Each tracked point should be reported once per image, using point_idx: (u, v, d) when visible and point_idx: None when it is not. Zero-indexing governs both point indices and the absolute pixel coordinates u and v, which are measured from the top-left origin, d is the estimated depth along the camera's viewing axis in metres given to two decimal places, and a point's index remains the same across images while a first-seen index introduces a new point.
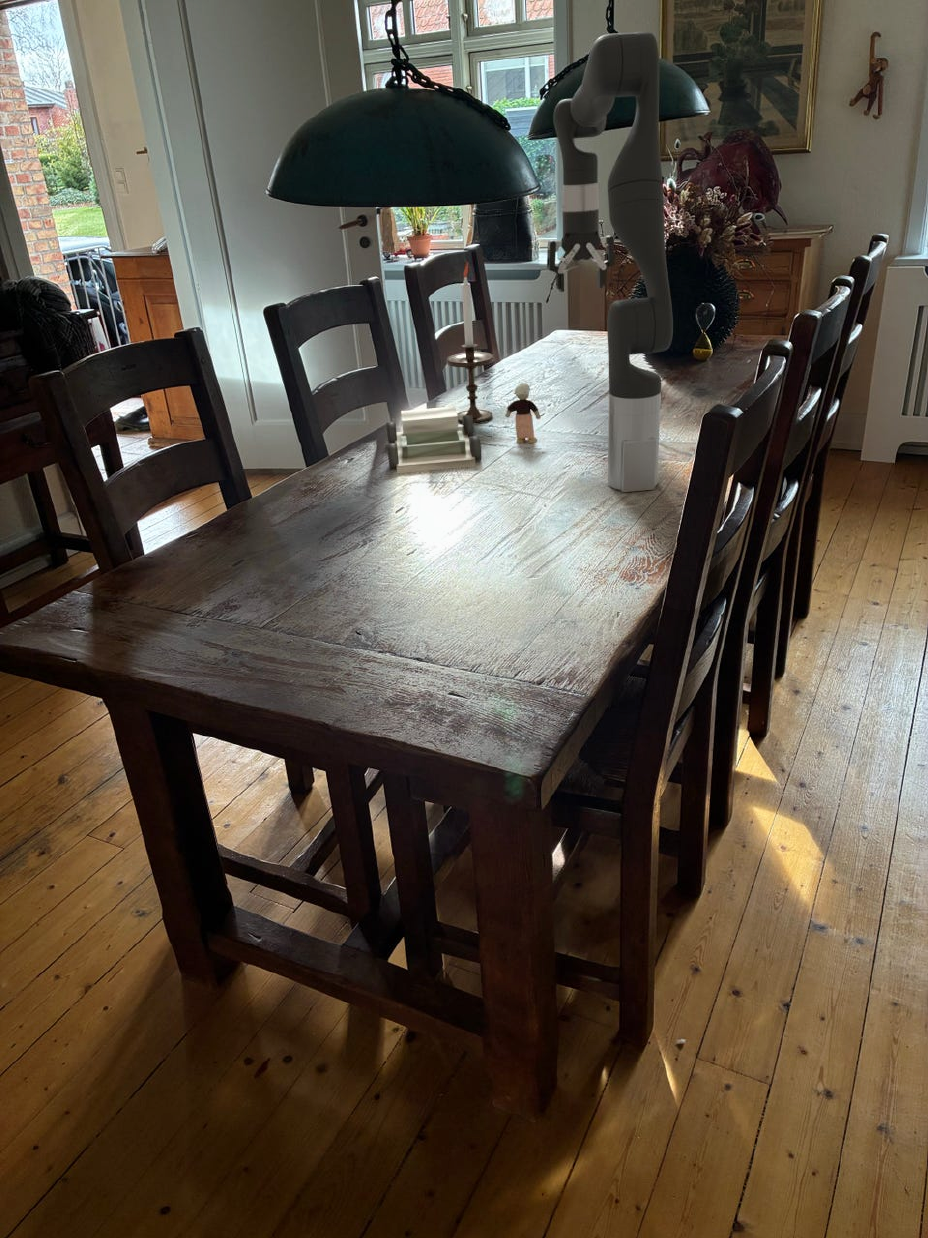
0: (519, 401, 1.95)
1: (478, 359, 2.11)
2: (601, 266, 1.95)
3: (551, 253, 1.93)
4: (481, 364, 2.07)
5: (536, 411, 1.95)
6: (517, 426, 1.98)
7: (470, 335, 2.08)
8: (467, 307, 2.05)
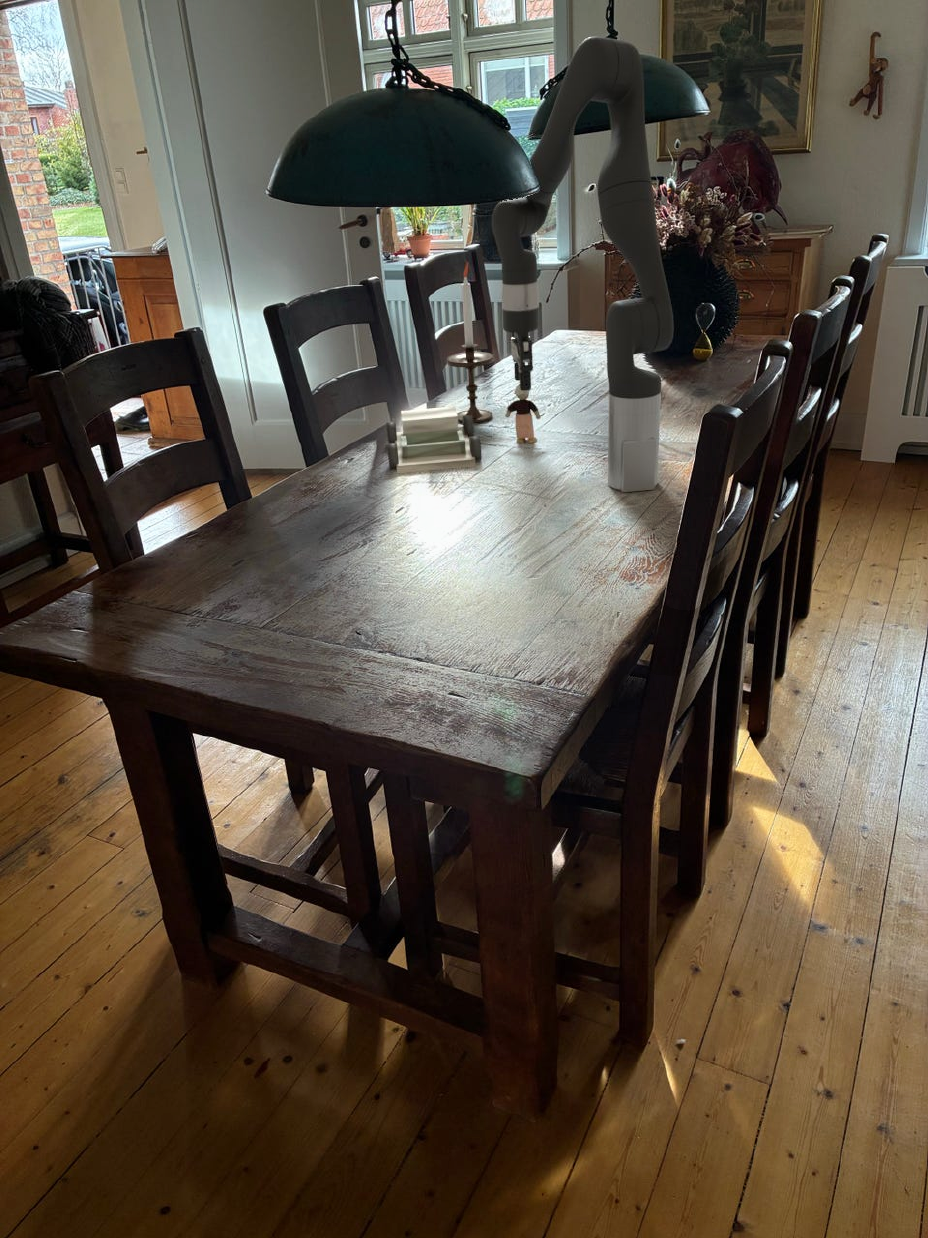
0: (519, 401, 1.95)
1: (478, 359, 2.11)
2: None
3: None
4: (481, 364, 2.07)
5: (536, 411, 1.95)
6: (517, 426, 1.98)
7: (470, 335, 2.08)
8: (467, 307, 2.05)
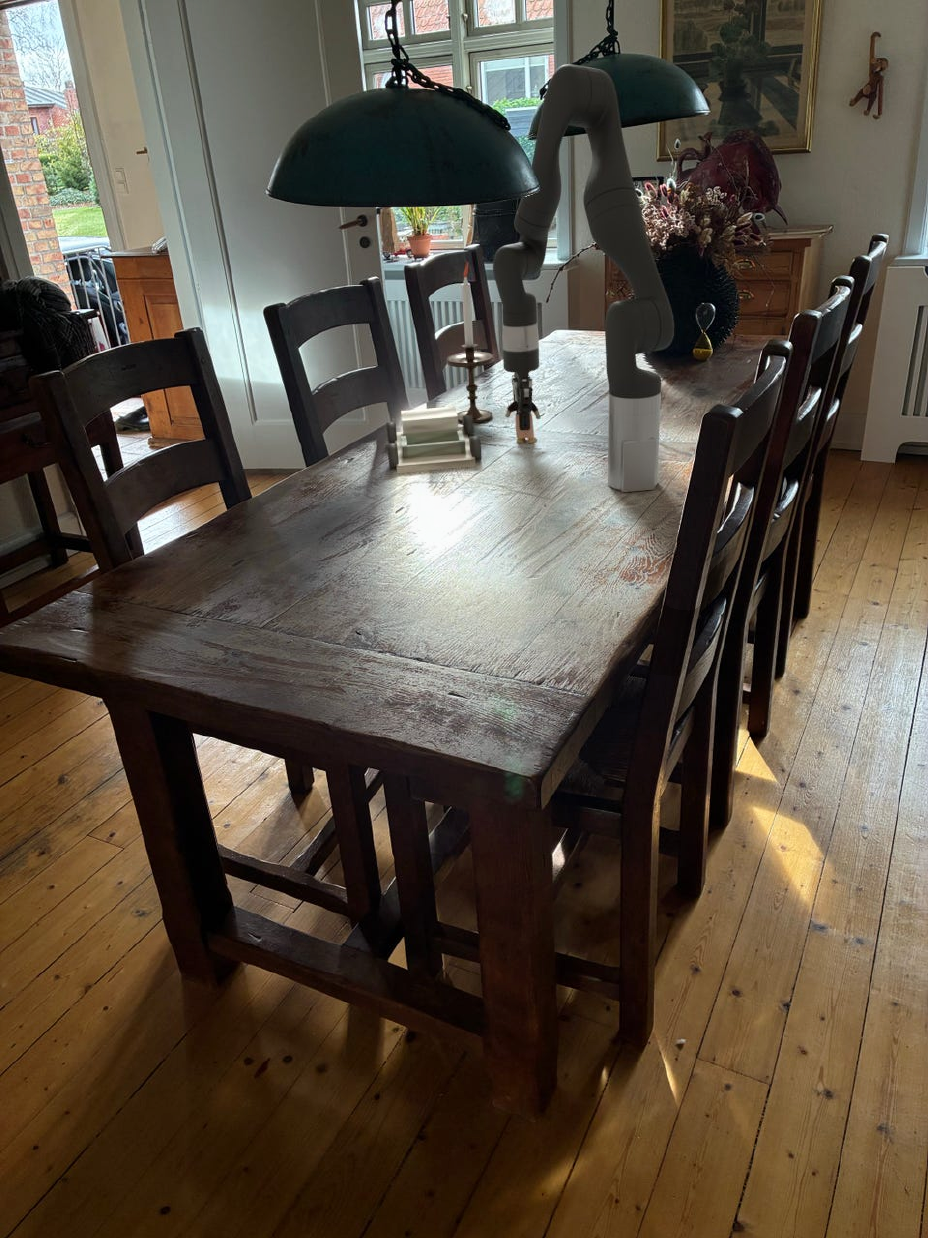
0: None
1: (478, 359, 2.11)
2: None
3: (531, 398, 1.90)
4: (481, 364, 2.07)
5: (536, 411, 1.95)
6: (517, 426, 1.98)
7: (470, 335, 2.08)
8: (467, 307, 2.05)
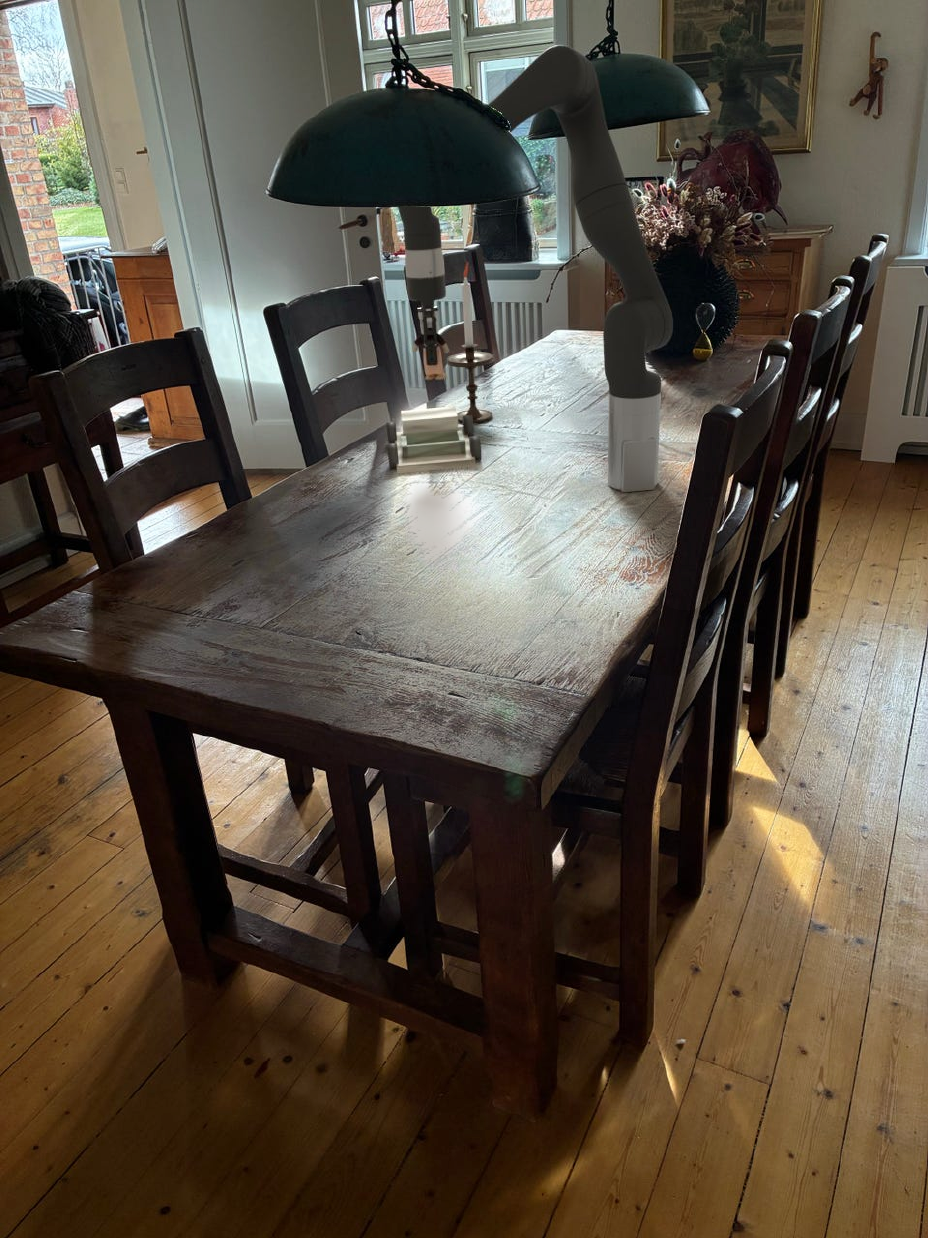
0: None
1: (478, 359, 2.11)
2: None
3: (436, 328, 1.78)
4: (481, 364, 2.07)
5: (444, 344, 1.83)
6: (425, 361, 1.86)
7: (470, 335, 2.08)
8: (467, 307, 2.05)
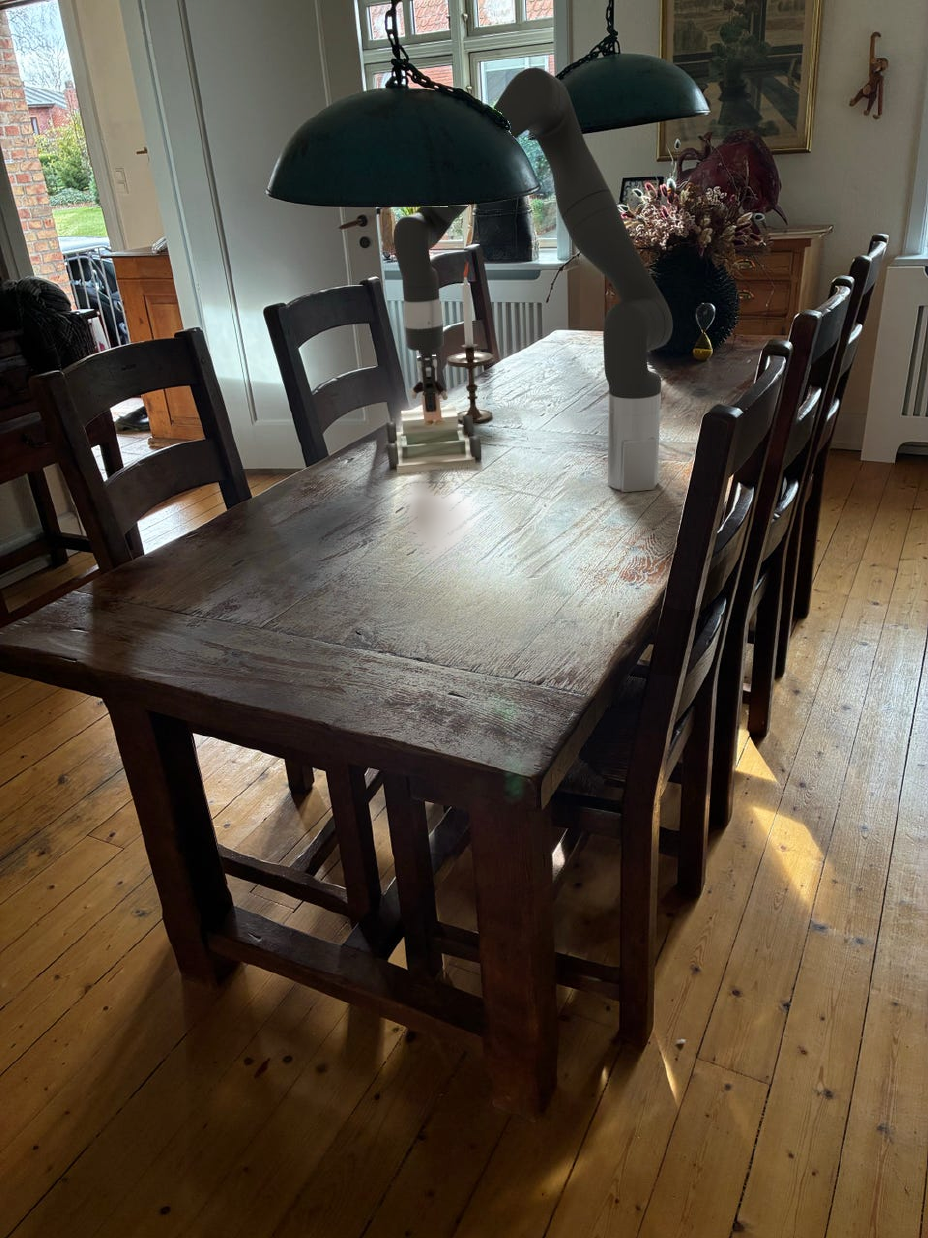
0: None
1: (478, 359, 2.11)
2: None
3: (435, 377, 1.82)
4: (481, 364, 2.07)
5: (442, 391, 1.87)
6: (424, 407, 1.90)
7: (470, 335, 2.08)
8: (467, 307, 2.05)
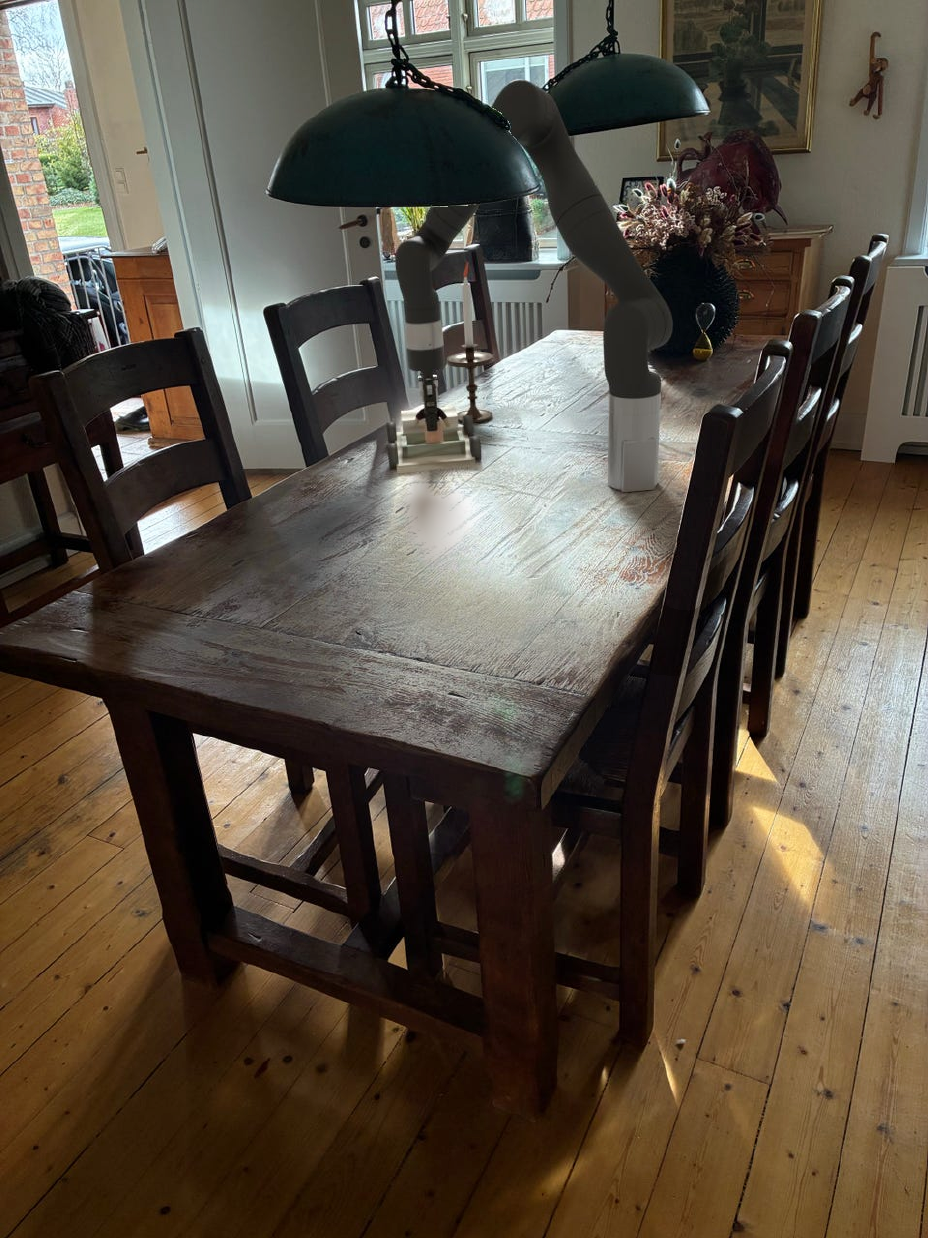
0: None
1: (478, 359, 2.11)
2: None
3: (436, 396, 1.83)
4: (481, 364, 2.07)
5: (445, 418, 1.89)
6: (426, 434, 1.92)
7: (470, 335, 2.08)
8: (467, 307, 2.05)
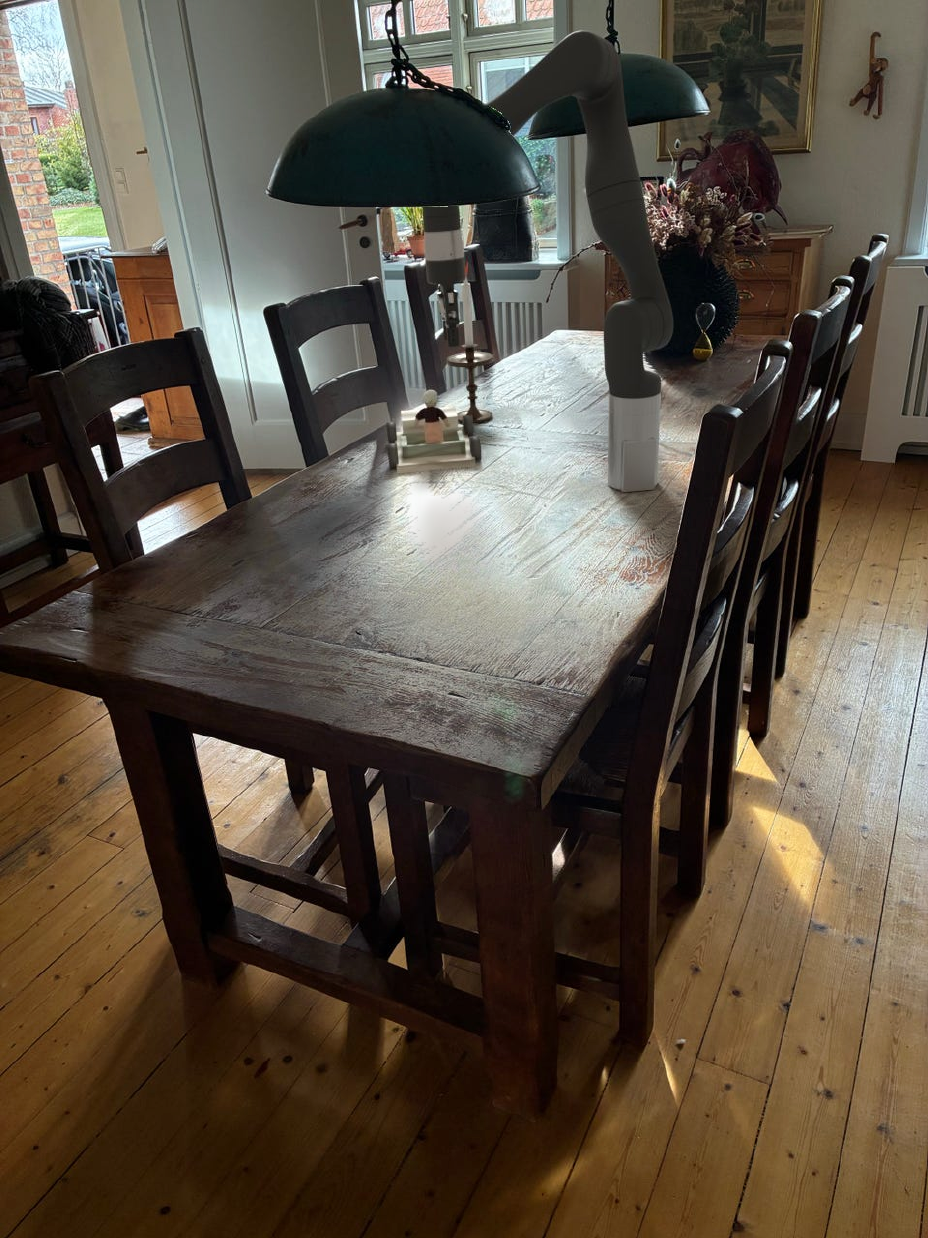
0: (427, 409, 1.89)
1: (478, 359, 2.11)
2: None
3: (457, 305, 1.74)
4: (481, 364, 2.07)
5: (445, 419, 1.89)
6: (426, 434, 1.92)
7: (470, 335, 2.08)
8: (467, 307, 2.05)
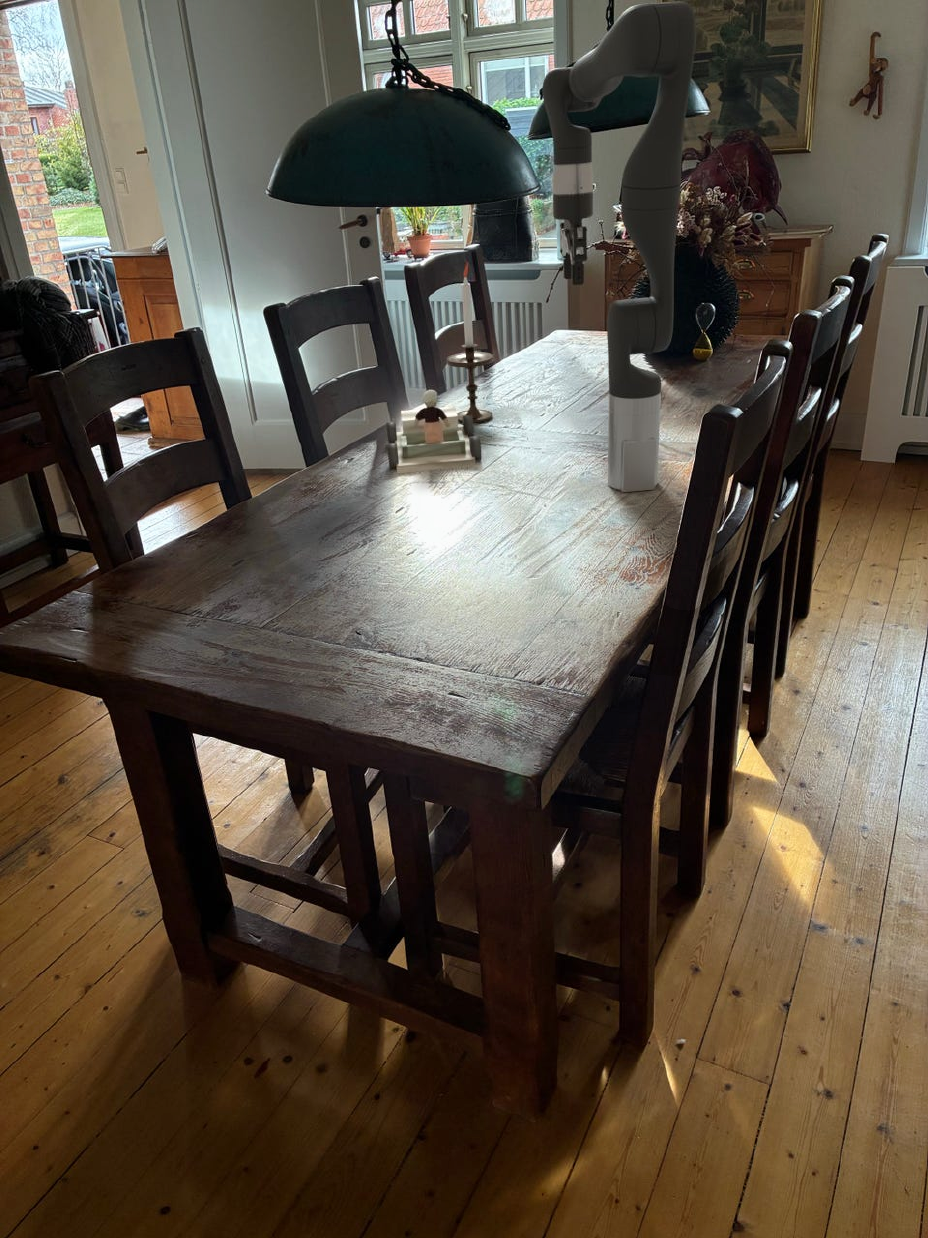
0: (427, 409, 1.89)
1: (478, 359, 2.11)
2: None
3: None
4: (481, 364, 2.07)
5: (445, 419, 1.89)
6: (426, 434, 1.92)
7: (470, 335, 2.08)
8: (467, 307, 2.05)
